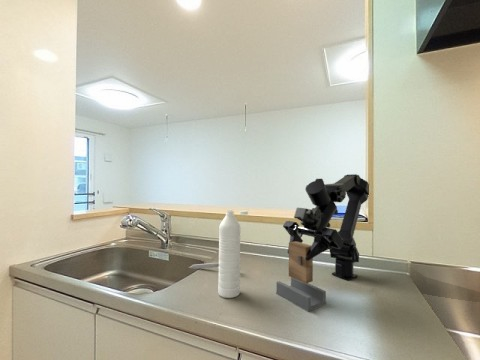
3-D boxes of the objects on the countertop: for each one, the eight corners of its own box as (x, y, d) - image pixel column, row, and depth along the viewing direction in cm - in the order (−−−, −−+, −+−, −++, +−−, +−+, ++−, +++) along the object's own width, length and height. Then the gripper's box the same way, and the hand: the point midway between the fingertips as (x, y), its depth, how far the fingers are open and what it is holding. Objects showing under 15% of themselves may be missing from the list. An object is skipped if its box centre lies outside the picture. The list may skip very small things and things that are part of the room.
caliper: (239, 274, 87) (239, 257, 87) (238, 275, 86) (238, 257, 86) (190, 267, 93) (190, 251, 93) (188, 268, 92) (188, 252, 92)
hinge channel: (293, 287, 75) (293, 276, 75) (325, 303, 65) (325, 291, 65) (276, 293, 71) (276, 281, 71) (307, 311, 61) (308, 298, 61)
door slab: (295, 273, 72) (295, 241, 72) (312, 281, 66) (312, 245, 67) (287, 276, 70) (287, 242, 70) (304, 284, 64) (304, 247, 65)
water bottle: (215, 297, 68) (216, 211, 69) (221, 287, 74) (222, 209, 75) (245, 300, 67) (246, 212, 67) (248, 290, 73) (249, 209, 73)
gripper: (287, 196, 79) (261, 233, 72) (337, 200, 63) (310, 247, 57) (303, 218, 83) (280, 254, 76) (353, 226, 67) (330, 273, 61)
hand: (297, 256), depth 68 cm, fingers closed on door slab, 6 cm apart
